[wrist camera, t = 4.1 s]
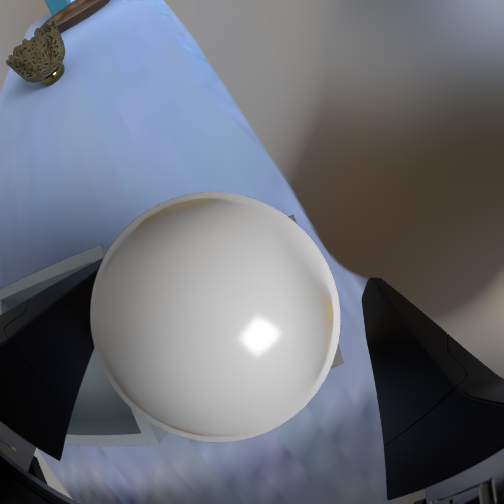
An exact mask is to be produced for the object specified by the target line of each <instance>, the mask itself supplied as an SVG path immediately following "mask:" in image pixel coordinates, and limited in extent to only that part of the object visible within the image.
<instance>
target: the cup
mask: <svg viewBox="0 0 504 504" xmlns="http://www.w3.org/2000/svg"><path fill="white" fill-rule="evenodd" d="M34 36H35V37H32V38H31V40H29V41H28V40H27V39H24V40H23V41H22V44H21V45H19V46H17V47H15V48H14V51H13V55H10V56H8V58H9V59H10V60H9V59H8V60H6V63H7V64H8V65H9V66H10V67H11V68H12V69H13V70H14V71H15V72H16V73H17V74H19V75H20V76H21V77H22V78H23V79H25V80H27V81H29V82H39V81H41V83H42V84H43V85H45V86H48V85H51V84H53V83H54V82H55V81H57V80H58V79H59V78H60V77H61V76H62V74H63V72H64V65H63V64H62V61H63V59H64V56H65V47H64V43H63V40H62V37H61V35H60V32H59V30H58V27H57V24H56V21H52V22H51V25H50V24H49V23H45V24H44V25H43V26H42V28H41V29H40V28H37V29H36V30H35V32H34Z"/></svg>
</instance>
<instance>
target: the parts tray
mask: <svg viewBox="0 0 504 504" xmlns="http://www.w3.org/2000/svg"><path fill="white" fill-rule="evenodd" d="M108 250H109V248H107V247H105V246H103V245H98V246H96V247H93V248H91V249H88V250H86V251H84V252H81V253H79V254H76V255H74V256H72V257H69V258H67V259H65V260H62V261H60V262H58V263H55V264H53V265H51V266H49V267H46V268H44V269H42V270H40V271H37V272H35V273H33V274H31V275H29V276H27V277H24V278H22V279H20V280H18V281H16V282H14V283H12V284H10V285H8V286H6V287H4V288H2V289H0V315H1V314H3V313H5V312H6V311H8V310H10V309H12V308H14V307H15V306H17V305H19V304H20V303H22V302H24V301H25V300H27V299H29V298H31V297H32V296H34V295H36V294H37V293H39V292H41V291H42V290H44V289H46V288H48V287H49V286H51V285H53V284H55V283H57V282H58V281H60V280H62V279H64V278H66V277H67V276H69V275H71V274H73V273H75V272H77V271H78V270H80V269H82V268H84V267H86V266H88V265H90V264H92V263H94V262H95V261H97V260H99V259H101V258H104V257H105V255H106V254H107V252H108ZM167 433H168V432H167V431H165V430H163V429H161V428H159V427H157V426H155V425H153V424H152V423H150V422H149V421H147V420H146V419H144V418H143V417H142V416H140V415H139V414H137V413H136V412H135V411H134V410H133V409H132V408H131V407H130V406H129V405H128V404H127V403H126V402H125V401H124V400H123V399H122V398H121V397H120V395H119V394H118V393H117V392H116V391H115V389H114V388H113V386H112V385H111V383H110V381H109V380H108V378H107V377H106V375H105V373H104V371H103V368H102V366H101V364H100V362H99V359H98V356H97V353H96V350H95V348H94V350H93V353H92V356H91V358H90V361H89V364H88V366H87V369H86V372H85V375H84V378H83V381H82V384H81V387H80V390H79V393H78V396H77V399H76V402H75V406H74V409H73V412H72V416H71V420H70V423H69V427H68V431H67V435H66V439H65V443H64V444H69V445H84V446H137V445H152V444H159V443H160V442H161V441H162V439H163V438H164V437H165V436H166V434H167Z"/></svg>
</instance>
